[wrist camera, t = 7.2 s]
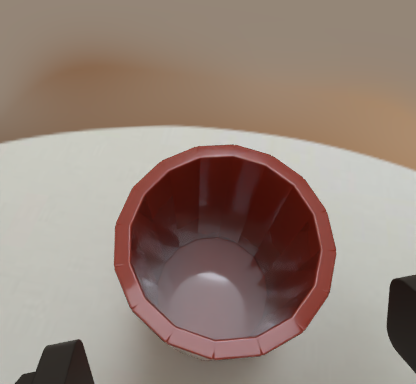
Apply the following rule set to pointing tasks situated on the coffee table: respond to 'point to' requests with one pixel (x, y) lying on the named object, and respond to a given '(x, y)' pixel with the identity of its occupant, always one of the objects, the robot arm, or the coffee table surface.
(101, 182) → the coffee table surface
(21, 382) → the robot arm
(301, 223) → the red cup
